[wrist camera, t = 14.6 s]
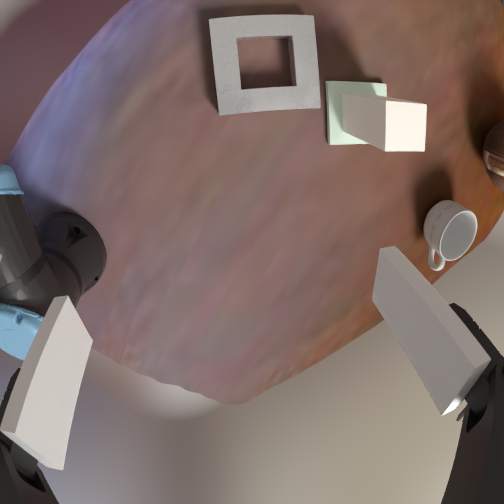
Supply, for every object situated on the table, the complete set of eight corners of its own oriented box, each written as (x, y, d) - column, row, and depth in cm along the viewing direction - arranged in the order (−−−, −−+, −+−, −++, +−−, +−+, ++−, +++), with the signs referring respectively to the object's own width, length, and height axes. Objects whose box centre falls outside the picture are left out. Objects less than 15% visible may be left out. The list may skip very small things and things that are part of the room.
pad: (327, 143, 45) (330, 144, 44) (325, 80, 39) (327, 80, 38) (383, 142, 45) (386, 143, 44) (383, 83, 40) (386, 84, 39)
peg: (342, 131, 43) (385, 151, 32) (341, 93, 40) (385, 100, 29) (376, 131, 43) (424, 151, 32) (376, 95, 40) (426, 104, 29)
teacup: (437, 184, 50) (463, 200, 43) (462, 210, 54) (485, 227, 47) (398, 241, 56) (419, 262, 49) (427, 260, 59) (446, 281, 53)
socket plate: (219, 113, 41) (219, 115, 38) (209, 23, 33) (208, 19, 31) (314, 106, 41) (320, 108, 39) (307, 19, 34) (313, 15, 31)
